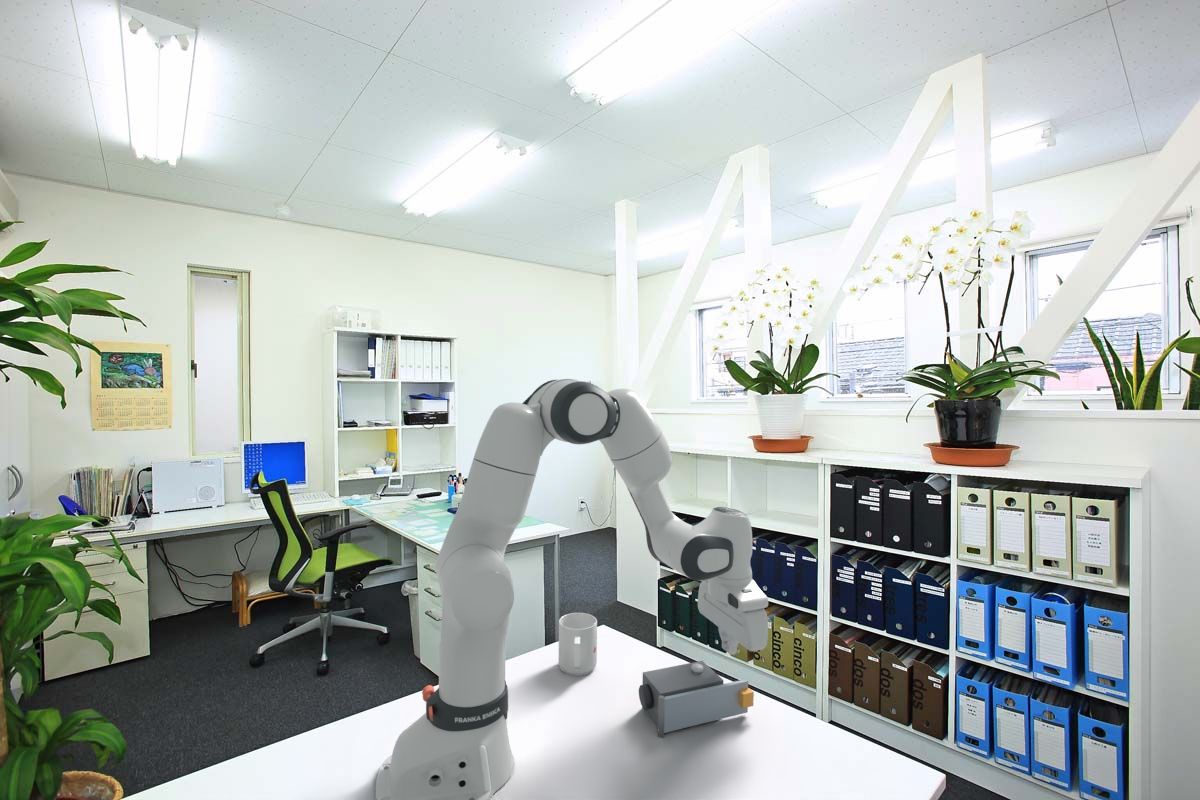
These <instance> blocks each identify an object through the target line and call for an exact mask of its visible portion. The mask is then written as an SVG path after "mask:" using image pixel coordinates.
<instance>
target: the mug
mask: <svg viewBox="0 0 1200 800" xmlns="http://www.w3.org/2000/svg"><path fill="white" fill-rule="evenodd" d="M597 646H598V620H597V617H595V616H594V615H592V614H590V613H585V612H572V613H568V614H564V615H562V616H561V617H560V618H559V620H558V667H559V669H560V670H562V671H563V673H565V674H567V675H569V676H573V677H581V676H586V675H588V674H590V673H591V672H592V671H593V670H594V669H595V668H596V665H597V664H598V663H597V659H598V658H597V655H598V653H597V651H598V647H597Z"/></svg>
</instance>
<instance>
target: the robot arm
mask: <svg viewBox="0 0 1200 800" xmlns="http://www.w3.org/2000/svg"><path fill="white" fill-rule="evenodd" d="M554 440H557V441H559V442H560V441H561V442H566V443H570V444H573V445H586V444H587V445H588V444H590V443H594V442H597V441H599V442H600V443H601V444H602V445H603V448H604V449H605V452H606V454H607V455H608V458H609V459H610V461H611V463H612V465H613V466H614V468H615V470H616V471H617V474H619V477H620V478H621V479H622V481H623V482H624V484H625V486H626V488H627V490H628V492H629V495H630V497H631V499H632V501H633V503H634V505H635V507H636V509H637V511H638V514H639V516H640V517H641V520H642V523H643V525H644V529H645V536H646V544H647V548H648V552H649V553H650V555H651V557H652V558H653V559H655V560H656V561H658V562H659V563H661V564H664V565H666V566H667V567H670V568H672V570H675V571H676V572H677V573H680V574H681V575H682V576H685V577H686V578H688V579H690V580H693V581H697V582H700V581H701V582H700V584H699V588H698V595H697V608H698V611H699V614H701V615H702V616H704V617H705V618H706V619H707V620H709V621H710V622H712V623H713V624H714V625H715V626H717V627H718V633H719V637H720V640H721V648H722V649H723V650H724V651H725V652H727V653H728V654H729V656H730V655H731V656H732V655H733V656H734V655H737V653H738V646H739V644H740V645H741V646H743V647H744V648H746V650H747V651H749V652H756V651H762V650H764V649H765V648H766V647H767V646H768V639H769V638H768V637H769V620H768V614H767V612H766V610H765V608H768V607H769V598H768V596H767V594H765V593H764V592H763V590H761V588H760V587H759V586H758V584H757V582H756V581H755V580H754V579H753V571H752V566H751V558H752V556H753V531H752V525H751V519H750V517H749V516H748V515H747V514H746V513H745V512H744V511H740V510H738V509H735V508H730V507H724V506H717V507H713V508H712V509H711V511H710V513H709V515H707V516H706V517H705V518H704V519H703V520H701V521H700V522H698V523H697V524H695V525H692V524H690V523H687V522H685V521H684V520H682V519H681V518H679V517H678V516H676V515H675V514H674V513H673V512H672V509H671V508H670V505H669V504H668V502H667V499H666V496H665V494H664V492H663V491H662V488H661V486H660V482H661V481H662V480H663V479H664V478H666V476H667V475H668V474H669V472H670V469H671V467H672V463H673V457H672V452H671V448H670V446H669V443H668V440H666V437H665V434H664V433H663V431H662V430H661V427H660V426H659V423H658V422H657V421H656V419H655V417H654V416H653V414H652V413H651V411H650V410H649V408H648V407H647V405H646V404H645V402H643V400H642V399H641V398H640V396H639V395H638V394H637V393H636V392H634V391H633V390H631V389H628V388H615V389H611V390H610V391H608V392H607V391H605V390H603V388H601V387H599V386H598V385H597V384H593V383H591V382H587V381H582V380H581V381H580V380H577V379H571V378H560V379H551V380H548V381H546V382H543V383H542V384H540V385H539V386H538V387H536V389H535V390H534V391H533V392H532V393H531V394H530V395H529V396H528V397H527V398H526V399H525V400H524V401H523V402H522V403H521V402H506V403H503V404H500V405H498V406H496V408H495V409H494V410H493V411H492V412H491V415H490V416H489V419H488V421H487V423H486V425H485V427H484V429H483V432H482V434H481V436H480V438H479V440H478V444H477V446H476V450H475V452H474V456H473V459H472V462H471V466H470V469H469V472H468V475H467V479H466V482H465V486H464V488H463V493H462V495H461V499H460V501H459V504H458V507H457V510H456V512H455V514H454V517H453V518H452V521H451V523H450V526H449V528H448V530H447V533H446V535H445V537H444V540H443V543H442V546H441V548H440V550H439V552H438V556H437V559H436V564H435V572H436V573H435V574H436V577H437V582H438V585H439V590H440V596H441V605H442V606H441V608H442V610H441V629H440V639H439V644H438V688H437V689H436V690H435V688H434V687H433V685H430V684H429V685H426V686H424V687H423V689H422V690H421V693H422V700H423V701H424V702H425V713H424V714H423V715H421V716H420V717H419V718H417V719H416V720H415V721H414V722H412V723H411V724H410V725H409V726H408V727H407V728H405V729H403V731H402V732H401V733H400V734H399V735H398V737H397V740H396V741H395V745H394V746H393V749H392V750H393V751H392V755H389V756H388V757H387V758H386V759H385V760H384V761H383V763H382V764H381V766H380V768H379V770H378V772H377V776H376V779H375V780H376V781H375V789H374V790H375V791H374V793H375V794H374V797H375V799H374V800H491V798H492V797H493V796H494V793H496V792H498V790H499V789H500V788H502V787H503V786H504V785H505V784H506V783H507V782H508V780H509V779H510V778H511V776H512V774H513V772H514V770H515V758H514V755H513V752H512V749H511V744H510V739H509V733H508V726H507V725H508V724H507V719H508V712H509V689H508V685H507V682H506V643H507V641H506V640H507V634H508V627H509V624H510V623H509V622H510V615H511V611H512V608H513V605H514V601H515V589H514V581H513V577H512V574H511V572H510V569H509V567H508V566H507V565H506V563H505V562H504V561H505V559H504V557H505V553H506V549H507V548H508V547H507V546H508V544H509V542H510V541H511V538H512V536H513V534H514V532H515V530H516V529H517V527H518V525H519V524H520V523H522V521H523V519H524V518H525V513H526V511H527V507H528V503H529V501H530V498H531V497H530V496H531V493H532V490H533V486H534V483H535V480H536V477H537V472H538V468H539V465H540V460H541V456H542V455H543V454H544V451H545V449H546V448H547V447H548V446H549V444H551V442H553V441H554Z"/></svg>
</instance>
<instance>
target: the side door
mask: <svg viewBox="0 0 1200 800" xmlns="http://www.w3.org/2000/svg"><path fill="white" fill-rule="evenodd" d="M754 696H755V695H754V690H752V689H751V688H749V680H747V678H744V679H740V680H736V681H731V682H727V683H723V684H721V685H717V686H712V687H708V688H703V689H698V690H694V691H689V692H685V693H680V694H676V695H671V696H666V697H664V696H659V697H658V729H657V737H658V738H661V739H662V738H664V737H665V733H670V732H673V731H679V730H681V729H685V728H689V727H694V726H697V725H702V724H706V723H710V722H714V721H718V720H722V719H726V718H730V717H733V716H734V717H735V716H739V715H743V714H746V713H748V710H749V708H750V707H754Z"/></svg>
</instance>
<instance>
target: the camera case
mask: <svg viewBox="0 0 1200 800" xmlns="http://www.w3.org/2000/svg"><path fill="white" fill-rule="evenodd" d="M721 684H724V679H723V678H722V677H721V676H720V675H718V674H717V672H715V671H714V670H713V669H712V668H711V667H710V666H709V665H708V664H707V663H706V662H704V661H703V660H699V661H694V662H690V663H689V662H688V663H684V664H679V665H674V666H669V667H663V668H658V669H655V670H647V671H643V672H642V684H640V685H639V687H638V698H639V702H640V705H641V707H642V710H643V711H644V712H645V714H646V715H647V717H648V718H649V719H650V721H651V722H652V723H653V725H654V726H655V728H656V729H657V730H658V697H659V696H664V697H666V696H671V695H676V694H680V693H685V692H689V691H694V690H698V689H703V688H708V687H712V686H717V685H721Z"/></svg>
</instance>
